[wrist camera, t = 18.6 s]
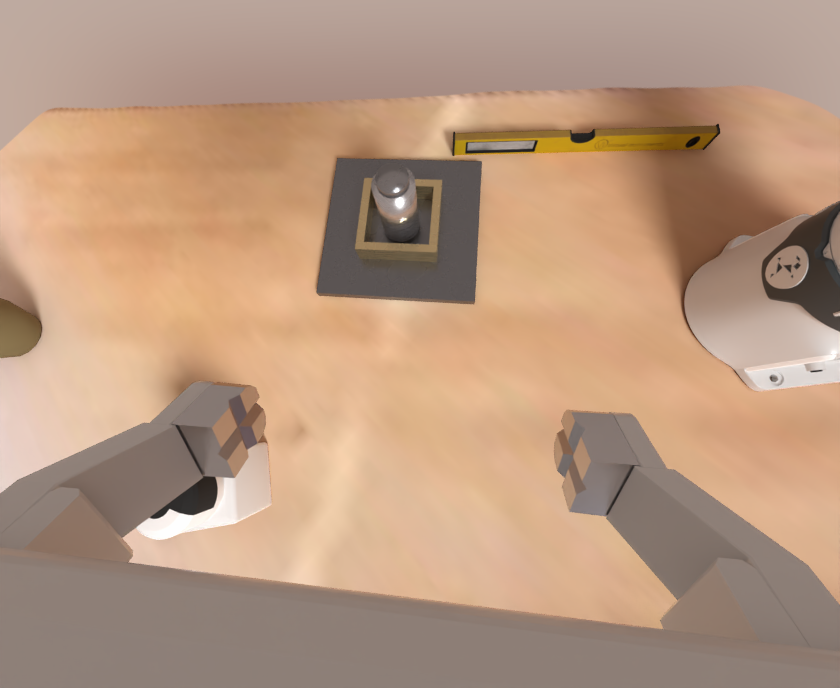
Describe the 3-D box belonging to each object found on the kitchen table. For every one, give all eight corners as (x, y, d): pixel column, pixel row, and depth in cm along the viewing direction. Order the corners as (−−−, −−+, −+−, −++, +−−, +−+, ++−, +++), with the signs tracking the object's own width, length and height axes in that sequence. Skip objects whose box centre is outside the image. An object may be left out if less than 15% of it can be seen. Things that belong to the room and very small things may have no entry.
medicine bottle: (210, 452, 40) (116, 465, 29) (268, 441, 40) (197, 450, 29) (212, 516, 39) (113, 557, 27) (273, 505, 39) (199, 542, 27)
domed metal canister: (421, 209, 45) (416, 158, 36) (418, 242, 44) (412, 198, 35) (385, 208, 45) (371, 157, 36) (381, 241, 44) (366, 196, 35)
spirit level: (701, 142, 46) (718, 123, 43) (702, 151, 45) (720, 132, 42) (452, 149, 48) (453, 131, 45) (452, 157, 48) (453, 140, 45)
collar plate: (480, 166, 47) (483, 146, 43) (474, 304, 42) (476, 294, 39) (339, 163, 48) (331, 144, 45) (319, 295, 44) (308, 285, 40)
